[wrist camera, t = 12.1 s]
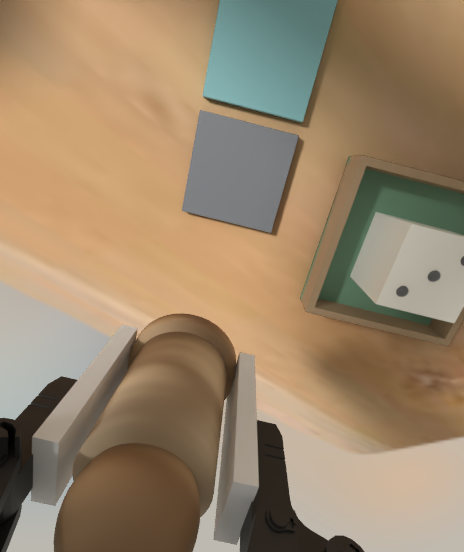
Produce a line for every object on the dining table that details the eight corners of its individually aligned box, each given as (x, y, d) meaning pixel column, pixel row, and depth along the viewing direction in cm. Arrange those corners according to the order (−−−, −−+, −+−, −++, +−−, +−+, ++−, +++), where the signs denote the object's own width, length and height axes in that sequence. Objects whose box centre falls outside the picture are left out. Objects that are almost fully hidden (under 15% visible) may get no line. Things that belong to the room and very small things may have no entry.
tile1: (183, 209, 27) (181, 210, 26) (201, 111, 24) (200, 109, 24) (270, 231, 27) (271, 232, 27) (297, 136, 25) (298, 135, 24)
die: (349, 276, 28) (377, 305, 22) (375, 211, 26) (413, 224, 20) (415, 292, 28) (461, 326, 22) (446, 229, 26) (505, 247, 20)
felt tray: (300, 298, 29) (305, 311, 26) (349, 156, 25) (361, 155, 22) (429, 329, 30) (448, 346, 27) (499, 195, 25) (531, 198, 22)
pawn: (129, 388, 16) (-11, 642, 8) (141, 302, 15) (-22, 504, 6) (223, 410, 16) (193, 685, 8) (247, 327, 15) (243, 562, 6)
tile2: (203, 97, 24) (202, 95, 23) (226, -30, 21) (226, -35, 21) (301, 123, 24) (302, 121, 24) (336, 0, 22) (338, -4, 21)
